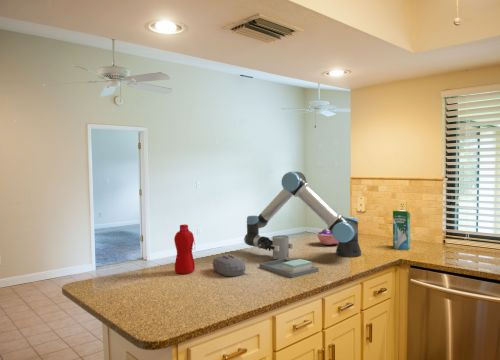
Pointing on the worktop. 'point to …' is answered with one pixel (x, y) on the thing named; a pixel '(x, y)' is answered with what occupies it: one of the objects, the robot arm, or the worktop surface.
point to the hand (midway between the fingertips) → (285, 247)
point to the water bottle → (184, 251)
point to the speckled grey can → (281, 247)
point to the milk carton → (401, 229)
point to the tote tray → (278, 268)
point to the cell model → (326, 237)
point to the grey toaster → (229, 266)
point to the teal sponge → (296, 265)
